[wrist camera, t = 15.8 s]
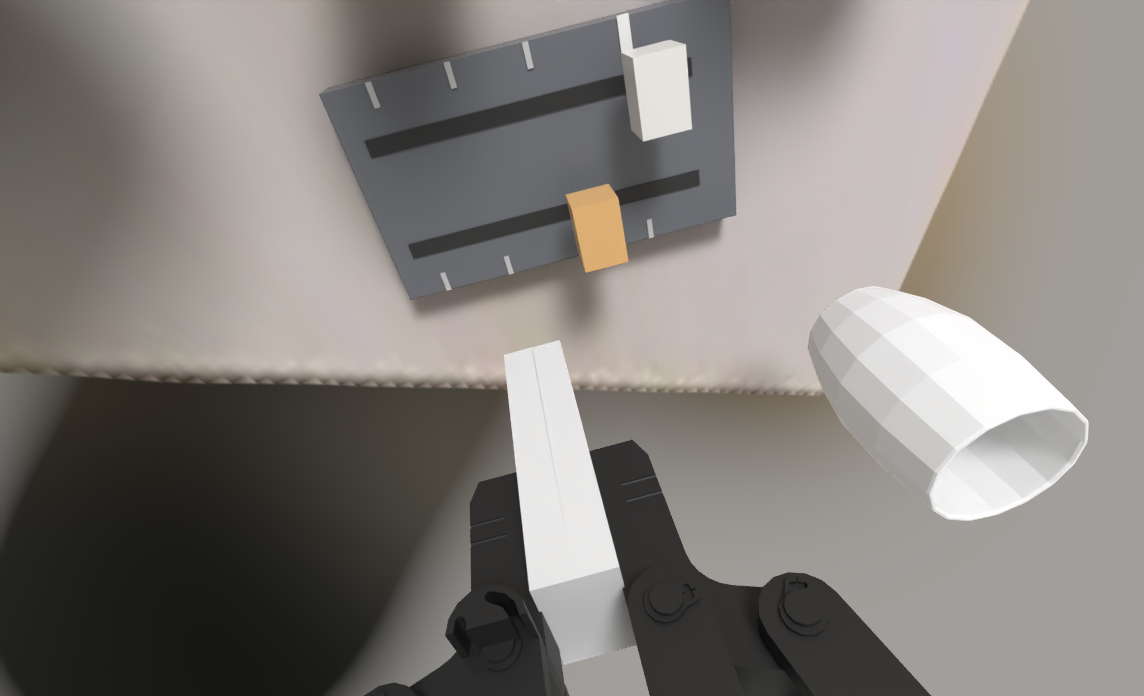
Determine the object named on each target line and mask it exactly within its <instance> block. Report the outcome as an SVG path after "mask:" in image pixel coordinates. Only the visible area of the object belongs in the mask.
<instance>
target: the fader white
mask: <svg viewBox="0 0 1144 696" xmlns="http://www.w3.org/2000/svg"><path fill="white" fill-rule="evenodd" d="M621 59H622V66H623V73H624V81H625V88H626V95H627V103H628V110H629V117H630V125H631V131H633V132H634V133H635V134H636V135H637V136H638V137H639V138H640V139H641V140H642V141H643V142H644V141H648V140H651V139H655V138H659V137H663V136H667V135H671V134H675V133H679V132H682V131H686V130H690V129H692V121H691V107H690V94H689V80H688V66H687V52H686V44H683V43H679V42H676V41H672V40H666V41H663V42H659V43H655V44H651V45H647V46H643V47H639V48H635V49H632V50H628V51H624V52H621Z"/></svg>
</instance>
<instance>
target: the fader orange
mask: <svg viewBox="0 0 1144 696" xmlns="http://www.w3.org/2000/svg"><path fill="white" fill-rule="evenodd" d="M566 200H567V204H568V209H569V213H570V218H571V222H572V227H573V232H574V236H575V241H576V245H577V250H578V254H579V257H580V260H581V262H582V265H583V268H584V270H585V273H587V272H591V271H595V270H599V269H603V268H606V267H610V266H614V265H618V264H622V263H626V262H629V261H628V255H627V249H626V243H625V236H624V230H623V224H622V218H621V212H620V205H619V199H618V197H617V195H616V194H615V192H614V191H613V189H612V188H611V186H610V185H609V184H605V185H601V186H597V187H593V188H589V189H586V190H582V191H578V192H574V193H570V194H566Z"/></svg>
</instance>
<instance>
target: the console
mask: <svg viewBox="0 0 1144 696" xmlns="http://www.w3.org/2000/svg"><path fill="white" fill-rule="evenodd" d="M666 40H672V41H676V42H679V43H683V44H686V52H687V66H688V80H689V94H690V107H691V121H692V129H690V130H686V131H682V132H679V133H675V134H671V135H667V136H663V137H659V138H655V139H651V140H648V141H644V142H643V141H642V140H641V139H640V138H639V137H638V136H637V135H636V134H635V133H634V132H633V131H631V125H630V117H629V110H628V103H627V95H626V88H625V81H624V73H623V66H622V59H621V52H624V51H628V50H632V49H635V48H639V47H643V46H647V45H651V44H655V43H659V42H663V41H666ZM319 95H320V98H321V100H322V102H323V104H324V107H325V109H326V111H327V113H328V116H329V118H330V120H331V122H332V125H333V127H334V129H335V131H336V134H337V136H338V138H339V140H340V143H341V145H342V147H343V149H344V152H345V154H346V156H347V158H348V161H349V163H350V165H351V167H352V169H353V172H354V174H355V176H356V178H357V181H358V183H359V185H360V187H361V190H362V192H363V194H364V196H365V199H366V201H367V203H368V205H369V208H370V210H371V212H372V214H373V217H374V219H375V221H376V223H377V226H378V228H379V230H380V232H381V235H382V237H383V239H384V241H385V243H386V246H387V248H388V250H389V252H390V255H391V257H392V259H393V261H394V264H395V266H396V268H397V270H398V273H399V275H400V277H401V279H402V282H403V284H404V286H405V288H406V291H407V293H408V295H409V297H410V299H414V298H418V297H422V296H426V295H429V294H433V293H437V292H441V291H445V290H447V291H448V290H452V289H453V288H457V287H460V286H464V285H468V284H472V283H476V282H480V281H484V280H487V279H491V278H495V277H499V276H503V275H507V274H509V275H510V274H514V273H515V272H518V271H522V270H526V269H530V268H534V267H538V266H542V265H545V264H549V263H553V262H557V261H561V260H565V259H569V258H572V257H576V256H579V254H578V250H577V245H576V241H575V236H574V232H573V227H572V222H571V218H570V213H569V209H568V204H567V200H566V194H570V193H574V192H578V191H582V190H586V189H589V188H593V187H597V186H601V185H605V184H609V185H610V186H611V188H612V189H613V191H614V192H615V194H616V195H617V197H618V199H619V205H620V212H621V218H622V224H623V230H624V236H625V243H626V244H627V243H630V242H634V241H638V240H642V239H646V238H653V237H654V236H658V235H661V234H665V233H669V232H673V231H677V230H681V229H685V228H688V227H692V226H696V225H700V224H704V223H708V222H712V221H716V220H719V219H723V218H727V217H731V216H735V215H736V190H735V156H734V122H733V88H732V54H731V20H730V0H669V1H665V2H661V3H657V4H653V5H649V6H645V7H642V8H638V9H634V10H630V11H626V12H622V13H618V14H614V15H610V16H607V17H603V18H599V19H595V20H591V21H587V22H583V23H579V24H576V25H572V26H568V27H564V28H560V29H556V30H552V31H548V32H544V33H541V34H537V35H533V36H529V37H525V38H521V39H517V40H513V41H509V42H506V43H502V44H498V45H494V46H490V47H486V48H482V49H478V50H474V51H471V52H467V53H463V54H459V55H455V56H451V57H447V58H443V59H439V60H436V61H432V62H428V63H424V64H420V65H416V66H412V67H408V68H404V69H401V70H397V71H393V72H389V73H385V74H381V75H377V76H373V77H369V78H366V79H362V80H358V81H354V82H350V83H346V84H342V85H338V86H335V87H331V88H328V89H326V90H325V91H323V92H322V93H321V94H319Z"/></svg>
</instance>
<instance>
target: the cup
mask: <svg viewBox="0 0 1144 696" xmlns="http://www.w3.org/2000/svg"><path fill="white" fill-rule="evenodd" d="M808 350H809V353H810V356H811V359H812V362H813V365H814V368H815V371H816V374H817V376H818V379H819V382H820V384H821V387H822V389H823V391H824V393H825V395H826V396H827V398H828V400H829V402H830V403H831V405H832V407H833V409H834V411H835V412H836V414H837V416H838V418H839V420H840V421H841V423H842V425H843V426H844V427H845V428H846V429H847V430H848V431H849V432H850V433H851V434H852V435H853V437H854V438H855V439H856V440H857V441H858V442H859V443H860V444H861V445H862V447H863V448H864V449H865V450H866V451H867V452H868V453H869V454H870V455H871V456H872V457H873V459H874V460H875V461H876V462H877V463H878V464H879V465H880V466H881V467H882V468H883V469H884V470H886V471H887V472H888V473H889V474H890V475H891V476H893V477H894V478H895V479H896V480H897V481H898V482H900V483H901V484H902V485H903V486H904V487H905V488H906V489H908V490H909V491H910V492H911V493H912V494H913V495H915V496H916V497H917V498H918V499H919V500H921V501H922V502H923V503H924V504H925V505H926V506H927V507H929V508H930V509H931V510H933V511H934V512H936V513H937V514H939V515H941V516H942V517H944V518H946V519H951V520H966V521H971V520H975V519H980V518H985V517H989V516H994V515H998V514H1000V513H1002V512H1004V511H1007V510H1009V509H1011V508H1014V507H1016V506H1018V505H1021V504H1023V503H1025V502H1027V501H1029V500H1030V499H1032V498H1033V497H1035V496H1036V495H1038V494H1039V493H1041V492H1042V491H1044V490H1045V489H1047V488H1048V487H1050V486H1051V485H1053V484H1054V483H1055V482H1056V481H1057V480H1058V479H1059V478H1060V477H1061V476H1062V475H1063V474H1064V473H1065V472H1066V471H1067V470H1068V469H1069V468H1070V467H1071V466H1073V465H1074V464H1075V462H1076V460H1077V459H1078V457H1079V455H1080V453H1081V452H1082V450H1083V448H1084V447H1085V445H1086V443H1087V441H1088V424H1089V423H1088V421H1087V419H1086V418H1085V417H1084V416H1083V415H1082V414H1081V413H1080V412H1079V411H1078V410H1077V409H1076V408H1075V407H1074V406H1073V405H1072V404H1071V403H1070V402H1069V401H1068V400H1067V399H1066V398H1065V397H1064V396H1063V395H1062V394H1061V393H1060V392H1059V391H1058V390H1057V389H1056V388H1054V386H1052V385H1051V384H1050V383H1049V382H1048V381H1047V380H1046V379H1045V378H1044V377H1043V376H1042V375H1041V374H1040V373H1039V372H1038V371H1037V370H1036V369H1035V368H1034V367H1032V366H1031V364H1030V363H1029V362H1027V361H1026V360H1025V359H1024V358H1023V357H1022V356H1021V355H1020V354H1018V353H1017V352H1016V351H1014V350H1013V349H1011V348H1010V347H1009V346H1007V345H1006V344H1005V343H1003V342H1002V341H1001V340H999V339H998V338H996V337H995V336H994V335H993V334H991V333H990V332H988V331H987V330H986V329H984V328H983V327H982V326H980V325H979V324H978V323H976V322H975V321H974V320H972V319H971V318H969V317H967V316H965V315H962V314H960V313H958V312H956V311H953V310H951V309H949V308H946V307H944V306H942V305H940V304H937V303H935V302H933V301H931V300H928V299H926V298H923V297H919V296H915V295H911V294H907V293H903V292H899V291H895V290H891V289H887V288H882V287H877V286H872V287H866V288H861V289H856V290H853V291H852V292H850V293H848V294H846V295H844V296H842V297H840V298H838V299H836V300H835V301H834V302H833V303H832V304H831V305H830V306H829V307H828V308H827V309H825V310H824V311H823V312H822V313H821V314H820V315H819V317H818V319H817V321H816V322H815V324H814V326H813V328H812V329H811V331H810V336H809V343H808Z"/></svg>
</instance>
